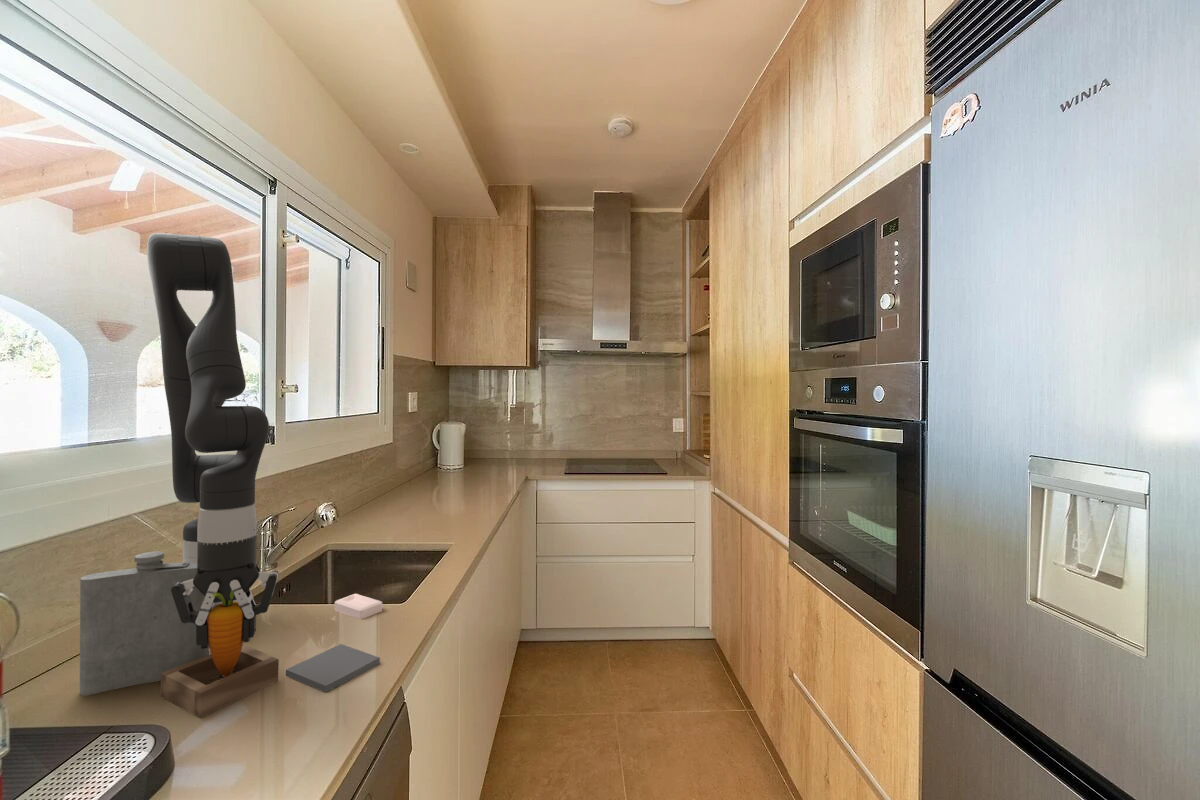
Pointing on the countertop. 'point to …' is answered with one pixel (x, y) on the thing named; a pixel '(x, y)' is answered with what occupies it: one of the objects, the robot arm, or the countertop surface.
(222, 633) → the carrot
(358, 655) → the mat
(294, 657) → the countertop surface
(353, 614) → the soap bar
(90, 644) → the hip flask
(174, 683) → the socket collar
